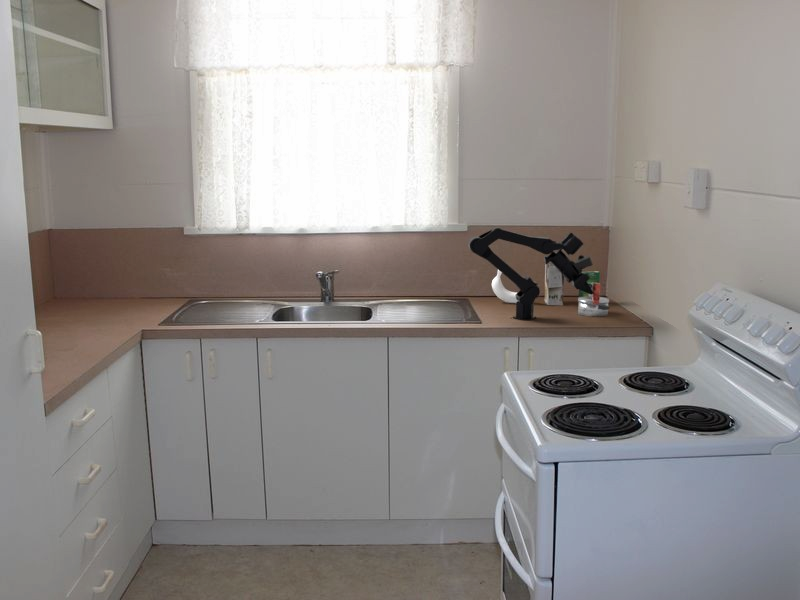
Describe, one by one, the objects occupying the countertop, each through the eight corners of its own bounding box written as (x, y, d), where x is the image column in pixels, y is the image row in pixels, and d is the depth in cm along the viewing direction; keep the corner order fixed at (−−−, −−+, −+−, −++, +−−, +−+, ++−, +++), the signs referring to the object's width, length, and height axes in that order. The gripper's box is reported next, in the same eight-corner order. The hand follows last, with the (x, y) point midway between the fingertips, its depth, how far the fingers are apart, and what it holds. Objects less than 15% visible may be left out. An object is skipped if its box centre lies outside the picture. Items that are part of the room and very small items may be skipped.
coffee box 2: (595, 302, 333) (596, 270, 331) (599, 303, 331) (600, 271, 328) (578, 303, 331) (579, 271, 328) (581, 304, 328) (583, 272, 326)
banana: (538, 305, 328) (539, 269, 325) (491, 304, 330) (491, 268, 327) (538, 302, 332) (539, 267, 330) (491, 301, 335) (492, 266, 332)
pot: (570, 311, 315) (570, 299, 314) (594, 309, 319) (594, 297, 318) (593, 319, 301) (593, 307, 300) (618, 316, 305) (618, 305, 304)
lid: (576, 298, 316) (577, 277, 314) (607, 298, 315) (608, 277, 313) (580, 305, 301) (580, 283, 300) (612, 306, 300) (613, 284, 298)
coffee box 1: (563, 305, 327) (564, 265, 324) (547, 305, 327) (548, 265, 324) (559, 301, 336) (561, 262, 332) (543, 301, 336) (545, 262, 333)
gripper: (584, 251, 288) (614, 282, 290) (574, 245, 307) (602, 275, 309) (561, 273, 290) (591, 304, 292) (553, 266, 308) (581, 295, 310)
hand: (592, 293), depth 300 cm, fingers closed, pressing on lid
